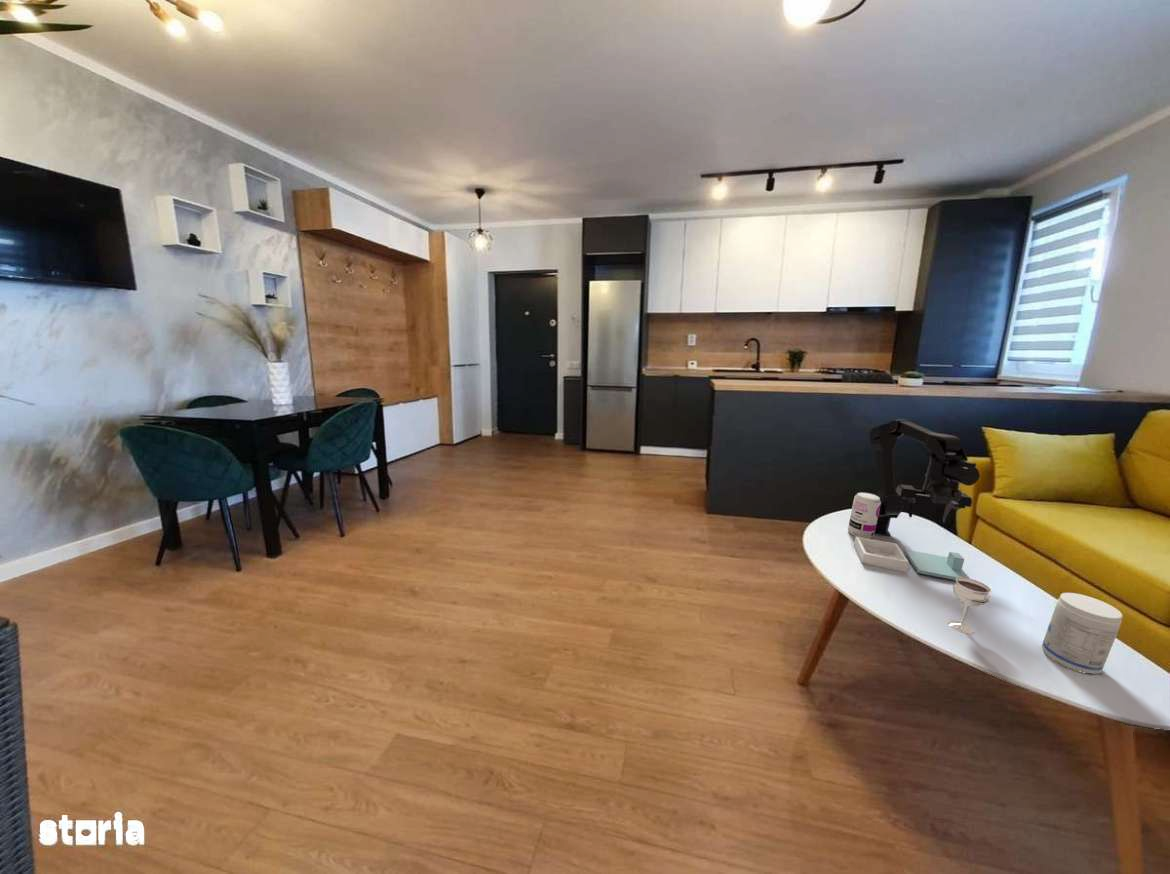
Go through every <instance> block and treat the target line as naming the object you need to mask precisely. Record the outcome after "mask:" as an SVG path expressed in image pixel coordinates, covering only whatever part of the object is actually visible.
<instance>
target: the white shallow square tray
mask: <svg viewBox="0 0 1170 874" xmlns="http://www.w3.org/2000/svg"><path fill="white" fill-rule="evenodd" d="M853 547H854V549H855V552H856V553H857V556H858V558H859V560H860V562H861V564H863V565H866V566H867V565H868V566H872V567H876V568H877V567H878V568H882V569H889V570H893V571H898V572H904V573H907V571H908V566H909V563H910V562H909V561H910V560H909V559H908V557H907V556H906V554H905V553H903V551H902V549H901V547H900V546H899V545H898V543H895V542H889V541H885V540H879V539H873V538H869V539H868V538H862V537H856V536H855V539H854V542H853Z"/></svg>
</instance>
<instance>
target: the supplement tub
mask: <svg viewBox="0 0 1170 874" xmlns="http://www.w3.org/2000/svg"><path fill="white" fill-rule="evenodd" d="M1055 604H1056V605H1055V606H1054V610H1053V612H1052V616H1051V618H1050V621H1049V624H1048V626H1047V629H1046V632H1045V635H1044V638H1043V641H1042V644H1041V648H1042V651H1043V652H1044V653H1045V655H1046V656H1047V657H1049V658H1050V659H1051V660H1052V659H1053V661H1054V662H1056V663H1057V662H1058V663H1057V664H1059V663H1060V664H1059V665H1061V664H1062V665H1061V666H1063V665H1064V667H1065V666H1066V667H1065V668H1067V667H1069V668H1068V669H1070V668H1071V669H1070V670H1072V669H1074V670H1073V671H1075V670H1077V671H1076V672H1078V671H1081V672H1080V673H1082V672H1085V673H1084V674H1086V673H1092V674H1091V675H1097V674H1096V673H1098V674H1101V672H1103V669H1104V667H1105V665H1106V662H1107V659H1108V657H1109V655H1110V652H1111V650H1112V647H1113V644H1114V642H1115V640H1116V637H1117V635H1118V632H1119V629H1120V628H1121V625H1122V620H1123V618H1124V617H1123V613H1122V612H1121V611H1120V610H1119V609H1118V608H1116V607H1115V606H1113V605H1111V604H1109V603H1107V602H1104V601H1103V600H1100V599H1097V598H1094V597H1092V596H1088V595H1086V594H1085V595H1084V594H1081V593H1076V592H1063V593H1061V594H1060V596H1059V598H1058V599H1057V601H1056V603H1055Z"/></svg>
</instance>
